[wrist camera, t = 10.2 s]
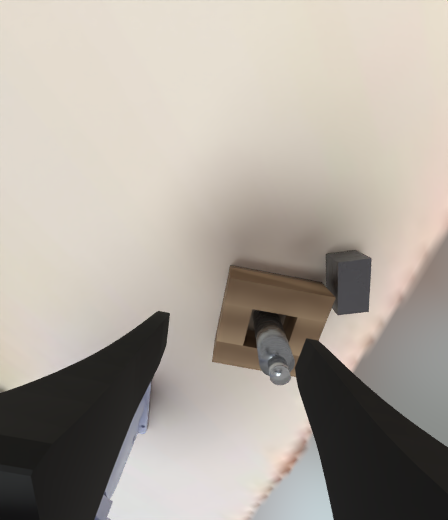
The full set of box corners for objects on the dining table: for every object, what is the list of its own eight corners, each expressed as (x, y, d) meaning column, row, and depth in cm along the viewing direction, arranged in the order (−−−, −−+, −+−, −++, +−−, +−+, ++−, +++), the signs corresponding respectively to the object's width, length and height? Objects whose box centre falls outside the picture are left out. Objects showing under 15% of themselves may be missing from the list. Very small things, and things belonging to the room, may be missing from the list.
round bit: (274, 329, 22) (293, 394, 15) (250, 324, 22) (257, 387, 15) (281, 308, 21) (304, 366, 14) (256, 303, 21) (266, 359, 14)
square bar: (352, 297, 21) (368, 311, 18) (325, 300, 21) (337, 315, 19) (353, 249, 19) (371, 258, 17) (324, 253, 19) (338, 262, 17)
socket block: (294, 354, 23) (303, 378, 20) (214, 340, 23) (212, 361, 20) (321, 282, 20) (335, 297, 17) (230, 265, 20) (229, 277, 17)
